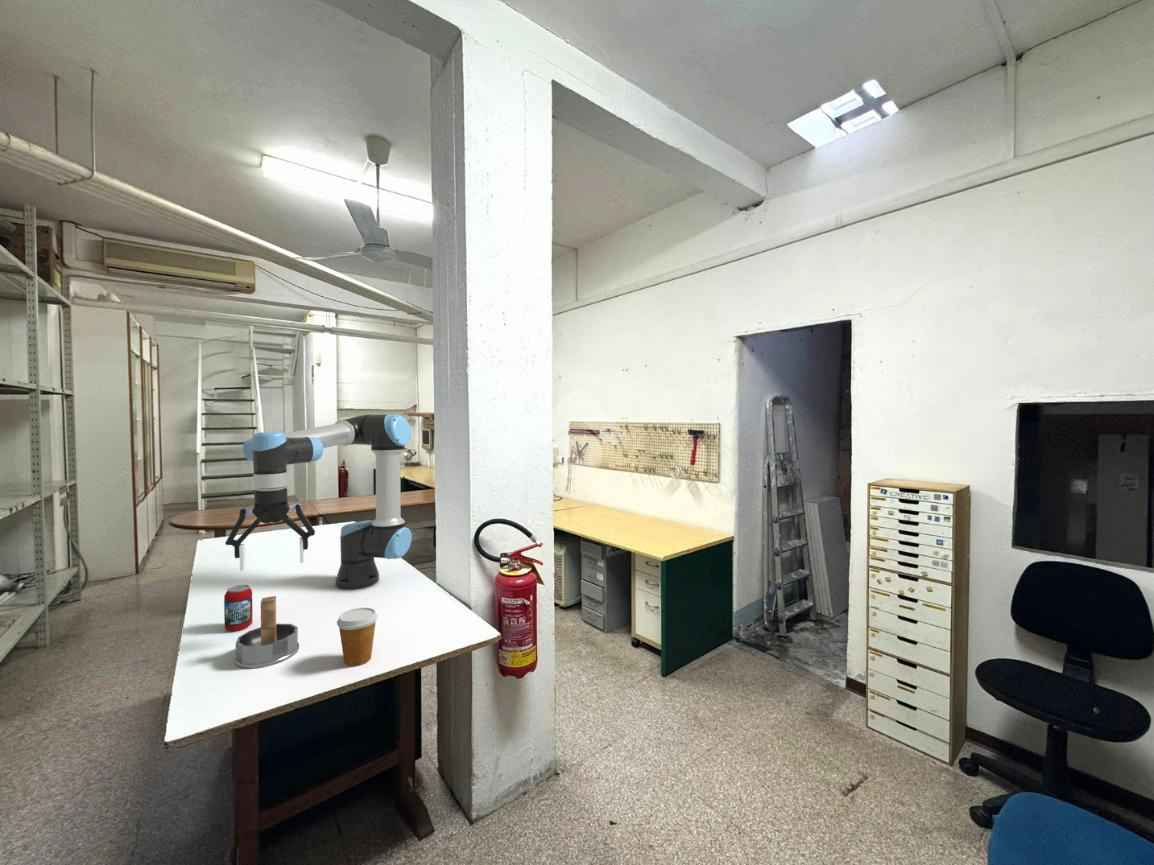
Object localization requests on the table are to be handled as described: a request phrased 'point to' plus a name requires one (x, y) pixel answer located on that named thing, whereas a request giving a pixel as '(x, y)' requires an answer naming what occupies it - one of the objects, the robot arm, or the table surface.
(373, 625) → the disposable coffee cup
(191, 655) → the table surface
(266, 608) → the long wooden beam
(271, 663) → the tin
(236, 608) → the beverage can
